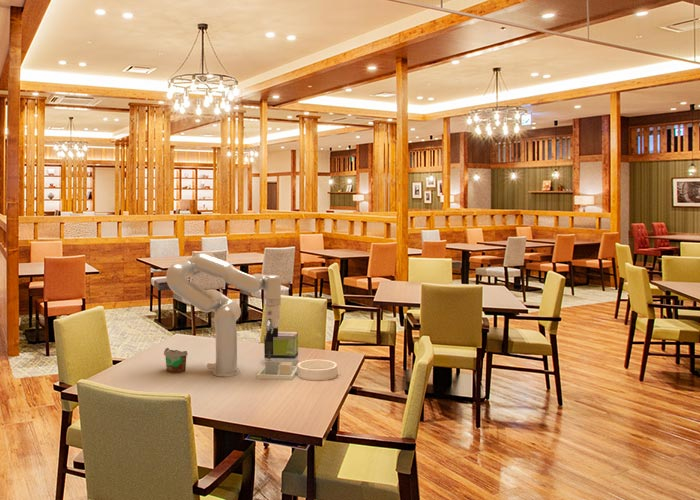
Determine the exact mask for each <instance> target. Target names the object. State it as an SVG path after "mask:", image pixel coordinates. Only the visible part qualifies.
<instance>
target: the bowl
mask: <svg viewBox="0 0 700 500" xmlns="http://www.w3.org/2000/svg"><path fill="white" fill-rule="evenodd" d="M296 366H297V374H296V376H297V377H298V378H300V379H302V380H306V381H307V380H308V381H326V380H328V381H330V380H333V379H335V378H337V376H338V363H337V362H335V361H333V360H328V359H318V358H317V359H307V360H303V361H298V362H297V363H296Z"/></svg>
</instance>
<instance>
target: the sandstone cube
mask: <svg viewBox="0 0 700 500" xmlns="http://www.w3.org/2000/svg"><path fill="white" fill-rule="evenodd" d="M292 373H293V362H281V364H280V365H279V375H290V376H291V374H292Z"/></svg>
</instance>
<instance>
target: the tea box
mask: <svg viewBox="0 0 700 500" xmlns="http://www.w3.org/2000/svg"><path fill="white" fill-rule="evenodd" d="M263 340H264V341H263V342H264V343H263V347H264V348H263V351H264V353H263V355H264V357H263V358H264V365H265V364H266V363H267V362H268V361H269V362H279V365H280V364H281V362H293V366H295V365H297V364H298V362H299V332H298V331H278V337H273V342H266V334H265V335H264V336H263Z"/></svg>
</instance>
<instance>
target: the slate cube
mask: <svg viewBox="0 0 700 500" xmlns="http://www.w3.org/2000/svg"><path fill="white" fill-rule="evenodd" d="M264 366H265V374H266V375H277V374H278V373H279V362H269V361H268V362H267V363H266V364H265V363H264Z"/></svg>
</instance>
